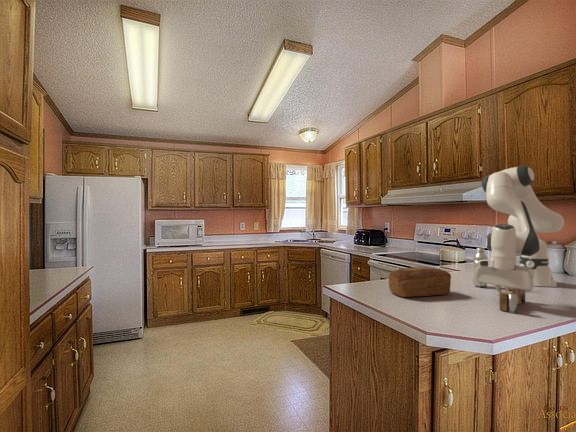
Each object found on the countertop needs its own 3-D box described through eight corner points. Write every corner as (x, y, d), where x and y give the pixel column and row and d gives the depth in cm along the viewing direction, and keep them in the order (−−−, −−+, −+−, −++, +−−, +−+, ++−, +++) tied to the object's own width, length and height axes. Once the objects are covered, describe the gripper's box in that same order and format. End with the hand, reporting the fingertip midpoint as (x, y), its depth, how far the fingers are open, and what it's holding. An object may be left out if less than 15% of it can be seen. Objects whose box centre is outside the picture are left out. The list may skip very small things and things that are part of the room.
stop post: (509, 310, 119) (509, 292, 119) (518, 312, 116) (518, 294, 116) (506, 312, 117) (506, 294, 117) (515, 314, 115) (516, 295, 115)
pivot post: (516, 300, 134) (516, 283, 133) (526, 302, 131) (526, 284, 131) (513, 301, 131) (513, 284, 131) (523, 303, 128) (523, 285, 128)
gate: (514, 301, 130) (514, 286, 130) (521, 302, 128) (521, 287, 128) (499, 309, 119) (499, 293, 119) (506, 311, 117) (506, 294, 117)
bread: (456, 296, 140) (456, 269, 140) (402, 300, 133) (402, 272, 133) (434, 288, 154) (434, 264, 154) (384, 292, 147) (384, 266, 147)
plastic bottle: (483, 285, 161) (483, 247, 161) (490, 288, 155) (490, 248, 154) (470, 284, 162) (470, 247, 162) (476, 288, 155) (477, 248, 155)
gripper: (536, 266, 120) (536, 301, 120) (479, 259, 137) (479, 290, 137) (531, 268, 116) (530, 304, 117) (473, 261, 133) (473, 292, 133)
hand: (502, 296), depth 127 cm, fingers closed
